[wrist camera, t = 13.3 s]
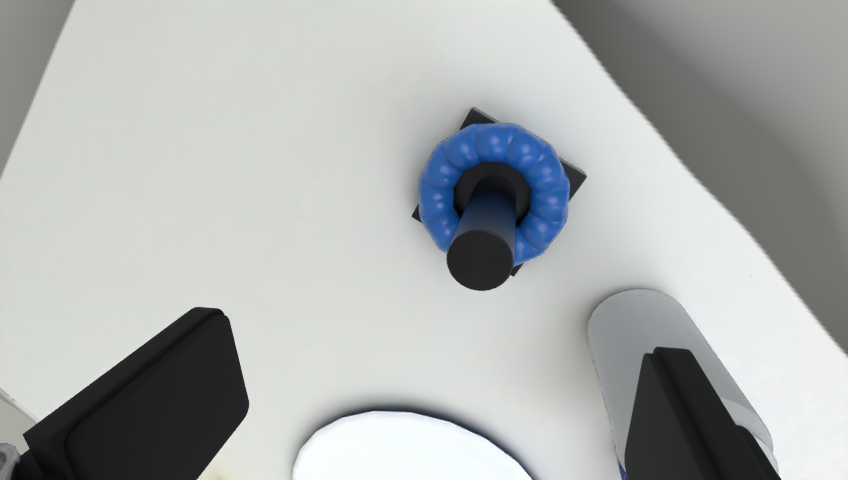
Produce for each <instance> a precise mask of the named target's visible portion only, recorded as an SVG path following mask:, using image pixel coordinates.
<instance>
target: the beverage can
mask: <svg viewBox="0 0 848 480" xmlns="http://www.w3.org/2000/svg"><path fill="white" fill-rule="evenodd" d="M587 337H588V341H589V345H590V349H591V353H592V357H593V361H594V365H595V369H596V373H597V376H598V380H599V384H600V388H601V392H602V396H603V400H604V404H605V408H606V412H607V416H608V420H609V424H610V427H611V431H612V435H613V439H614V443H615V447H616V451H617V455H618V459H619V461H620V463H621V465H622V467H623V469H624V470H625V463H624V454H625V447H626V442H627V437H628V432H629V426H630V421H631V416H632V411H633V405H634V400H635V395H636V390H637V385H638V379H639V374H640V369H641V364H642V359H643V356H644V354H645V353H653V350H654V349H655V347H657V346H658V347H670V348H682V349H688V350H690V351H691V352H692V353H693V355H694V356H695V358H696V360H697V361H698V363H699V365H700V366H701V368H702V370H703V371H704V373H705V374H706V376H707V378H708V379H709V381H710V383H711V384H712V386H713V388H714V389H715V391H716V392H717V394H718V396H719V397H720V399H721V401H722V402H723V404H724V406H725V407H726V409H727V411H728V412H729V414H730V415H731V417H732V419H733V420H734V422H735V424H736V425H741V426H743V427H745V428H746V429H748V430H749V431H750V433H751V434H752V435H753V436H754V438H755V439H756V441H757V442H758V444H759V446H760V447H761V449H762V450H763V452H764V453H765V455H766V456H767V458H768V460H769V461H770V463H771V464H772V466H773V467H774V469H775V471H776V472H777V474H778V475H779V469H778V464H777V461H776V459H775V457H774V455H773V443H772V438H771V435H770V433H769V431H768V429H767V427H766V426H765V424H764V423H763V421H762V420H761V418H760V417H759V415H758V414H757V413H756V411H755V410H754V408H753V407H752V405H751V404H750V403H749V401H748V400H747V398H746V397H745V395H744V394H743V392H742V391H741V390H740V388H739V387H738V385H737V384H736V382H735V381H734V380H733V378H732V377H731V375H730V374H729V372H728V371H727V369H726V368H725V367H724V365H723V364H722V362H721V361H720V359H719V358H718V357H717V355H716V354H715V352H714V351H713V349H712V348H711V346H710V345H709V344H708V342H707V341H706V339H705V338H704V336H703V335H702V334H701V332H700V331H699V329H698V328H697V326H696V325H695V323H694V322H693V321H692V319H691V318H690V316H689V315H688V313H687V312H686V311H685V309H684V308H683V307H682V305H681V304H679V303H678V302H677V301H676V300H675V299H673V298H672V297H670V296H668V295H666V294H664V293H661V292H658V291H654V290H649V289H634V290H626V291H622V292H619V293H617V294H614V295H612V296H610V297H608V298H607V299H605V300H604V301H603V302H601V303H600V304H599V305H598V306H597V307H596V309H595V310H594V311H593V313H592V315H591V317H590V319H589V322H588V327H587ZM625 472H626V470H625Z"/></svg>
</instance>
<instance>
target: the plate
mask: <svg viewBox="0 0 848 480" xmlns="http://www.w3.org/2000/svg"><path fill="white" fill-rule="evenodd" d="M292 473H293V480H534V479H533V478H532V477H531V476H530V475H529V473H528V472H527V471H526V470H525V469H524V468H523V466H522V465H521V464H520V463H519V462H518V461H517V460H516V459H515V458H513V457H512V456H511V455H509V454H508V453H507V452H505V451H504V450H503V449H501V448H500V447H499V446H497V445H496V444H495V443H493V442H492V441H491V440H489V439H488V438H486V437H484V436H482V435H480V434H478V433H476V432H474V431H471V430H469V429H467V428H465V427H463V426H461V425H459V424H456V423H454V422H452V421H450V420H446V419H442V418H438V417H434V416H430V415H426V414H421V413H417V412H413V411H396V410H371V411H366V412H361V413H357V414H352V415H347V416H342V417H341V418H339V419H337V420H335V421H333V422H331V423H329V424H327V425H326V426H324V427H322V428H320V429H318V430H317V431H316V432H315V433H314V434H313V436H312V437H311V438H310V439H309V440H308V441H307V442H306V443H305V444H304V446H303V447H302V448H301V449H300V452H299V454H298V457H297V460H296V463H295V465H294V468H293V471H292Z"/></svg>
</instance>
